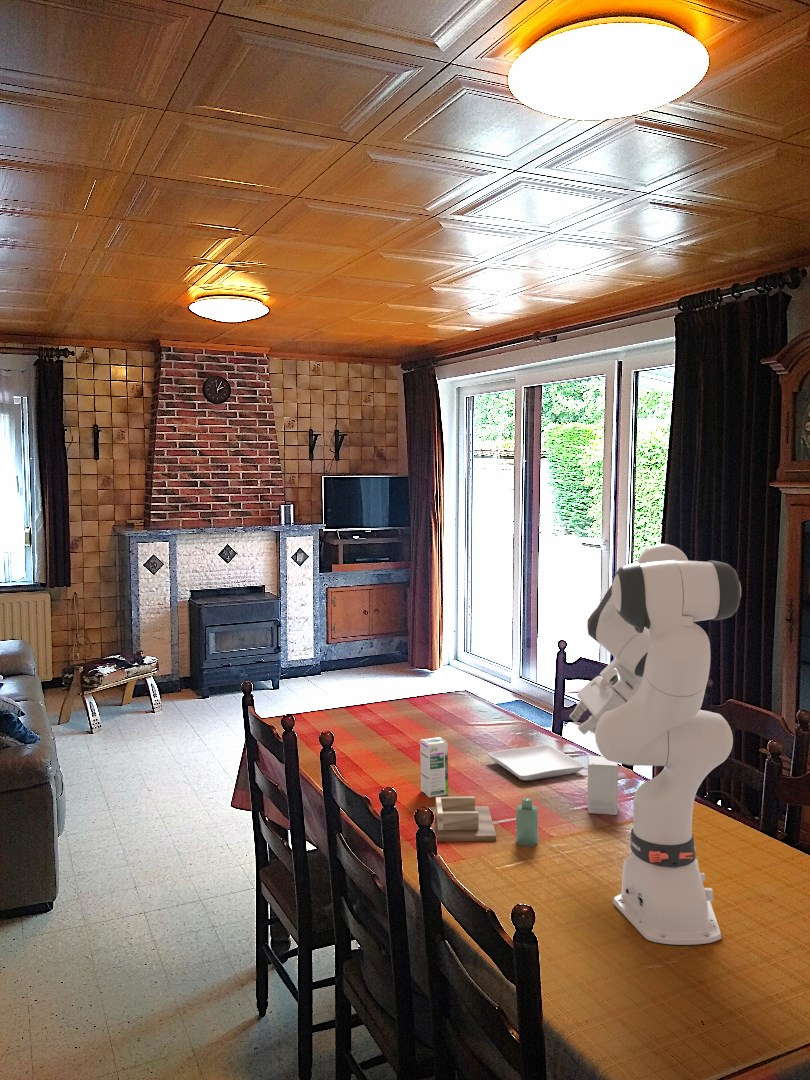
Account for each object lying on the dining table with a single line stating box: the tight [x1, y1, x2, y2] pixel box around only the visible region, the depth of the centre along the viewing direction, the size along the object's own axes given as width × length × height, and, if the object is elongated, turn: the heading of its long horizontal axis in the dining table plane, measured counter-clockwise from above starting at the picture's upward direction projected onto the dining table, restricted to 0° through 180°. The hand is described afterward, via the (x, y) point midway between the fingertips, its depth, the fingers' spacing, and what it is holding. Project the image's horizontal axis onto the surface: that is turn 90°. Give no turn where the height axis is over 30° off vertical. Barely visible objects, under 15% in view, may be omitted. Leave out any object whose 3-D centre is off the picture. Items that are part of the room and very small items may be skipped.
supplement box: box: [586, 755, 619, 816], centre depth 219 cm, size 7×7×13 cm
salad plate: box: [487, 744, 586, 781], centre depth 250 cm, size 21×21×3 cm
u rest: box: [426, 795, 497, 842], centre depth 210 cm, size 18×16×5 cm
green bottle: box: [515, 797, 539, 847], centre depth 200 cm, size 5×5×10 cm
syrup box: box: [419, 736, 450, 799], centre depth 232 cm, size 6×6×14 cm
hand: (576, 725), depth 199 cm, fingers open, 8 cm apart
